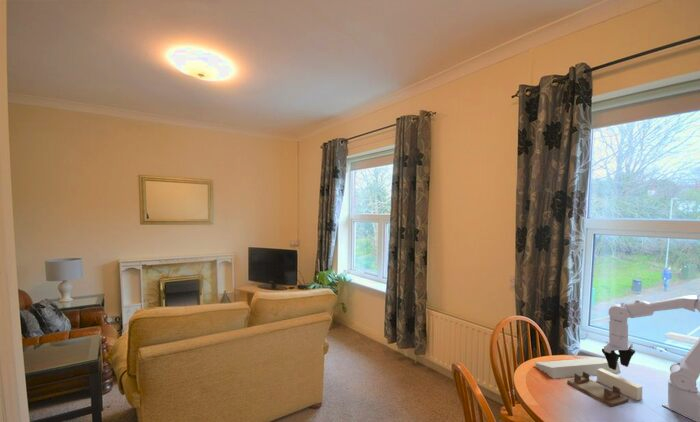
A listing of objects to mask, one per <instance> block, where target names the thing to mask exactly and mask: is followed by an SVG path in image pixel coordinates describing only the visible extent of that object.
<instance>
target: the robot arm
mask: <svg viewBox="0 0 700 422" xmlns="http://www.w3.org/2000/svg"><path fill="white" fill-rule="evenodd" d="M678 309H679V310H680V309H684V310H687V311H691V312H693V313H695V312H696V310H697V311H698V312H699V313H700V294H698V295H697V294H689V295H684V296H678V297H672V298H667V299H664V300H658V301H652V302H650V301H646V300H640V299H639V298H638V299H635V300H634V301H632V302H626V303H625V302H620V304H619V303H615V304H612V305H611V306H610V307H609V309H608V315H609V322H608V325H609V327H608V328H609V329H608V331H609V332H608V333H609V334H608V337H609V338H608V340H606V342H605V343H606V344H605V345H604V346H603V348H601V352H602V353H603V355H604V357H605V359H606V360H607V363H608V366H609V368H611V369H613V370H616V367H617V362H618V361H619V362H620V365H622V366H624V367H626V368H628V367H629V365H630V361H631V359H632V357H633V355H635V354H636V350H635V349H633V348H634V347H633V345H634V344H633V343H632V342H630V341H629V324H628V318H629V319H637V318H642V317H643V318H644V317H649V316H653V315H654V313H655V312H659V311H660V312H661V311H668V310H678ZM616 351H618V353H619V354H618V353H616ZM669 372H670V373H669V374H670V375H669V379H668V380H667V401H668V402H665V403H662V405H661V406H662V407H664V408H666V409H669V410H671V411H672V412H676V413H677V414H679V415H681V416H683V417H686V418H687V419H690V420H691V421H694V422H700V391H699V389H698V387H697V380H698V379H699V377H700V337H699V338H698V339H697V341H696V342H695V343H694V345H693V346H692V347H691V349H690V350H688V352H687V354H685V356H684V357H682V358H681V359H680V360H679V362H676V363H673V364H671V365H670V368H669Z"/></svg>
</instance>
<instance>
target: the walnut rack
mask: <svg viewBox="0 0 700 422" xmlns="http://www.w3.org/2000/svg"><path fill="white" fill-rule="evenodd" d="M566 383H567V384H568V385H570V386H571V387H574V388H575V389H578V390H579V391H581V392H582V393H585V394H587V396H590V397H592V398H594V399H595V400H597V401H600V402H601V403H602V404H605V405H607V406H608V407H610V408H611V407H612V408H613V407H615V406H619V405H622V404H626V403H629V398H628V397H627V396H624V395H622V394H621V392H620V388H617V387H615V386H613V388H612V389H610V388H608V387H606V386H604V385H602V384H600V383H598V382H596V381H594V380H592V379H590V376H589V373H586V372H584V371H583V376H580V375H578V374H576V373H575V377H573V378H572V379H568V380H567V381H566Z"/></svg>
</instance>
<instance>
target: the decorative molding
mask: <svg viewBox="0 0 700 422" xmlns="http://www.w3.org/2000/svg"><path fill="white" fill-rule="evenodd" d="M534 365H535V367H536V368H537V369H539V370H540V371H542V372H543V373H545V374H546V375H548V376H549V377H550V378H552V379H553V380H556V379H557V380H558V379H570V378H575V373H576V374H578V375H580V376H583V371H584V372H586V373H589V377H590V376H591V375H592V376H597V369H600V368H602V369H605V370H607V371H609V372H611V373H613V374H621V369H620V365H619V362H618V361H617V367H616V370H613V369H611V368H609V366H608V363H607V360H606V358H600V357H588V358H576V359H562V360H550V361H537V362H536V361H535V363H534Z"/></svg>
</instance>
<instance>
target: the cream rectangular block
mask: <svg viewBox="0 0 700 422" xmlns="http://www.w3.org/2000/svg"><path fill="white" fill-rule="evenodd" d="M596 381H598V382H599V383H601V384H603V385H605V386H608V387H610V388H612V389H613V386H615V387H617V388H620V393H622V394H624V395H625V396H628V397H630V398H632V399H634V400H636V401H639V400H642V399H643V386H642V385H640V384H638V383H636V382H633V381H631V380H629V379H627V378H624V377H622V376H620V375H618V374H617V373H614V374H613V373H611V372H609V371H607V370H605V369H602V368H600V369H597V375H596Z"/></svg>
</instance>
